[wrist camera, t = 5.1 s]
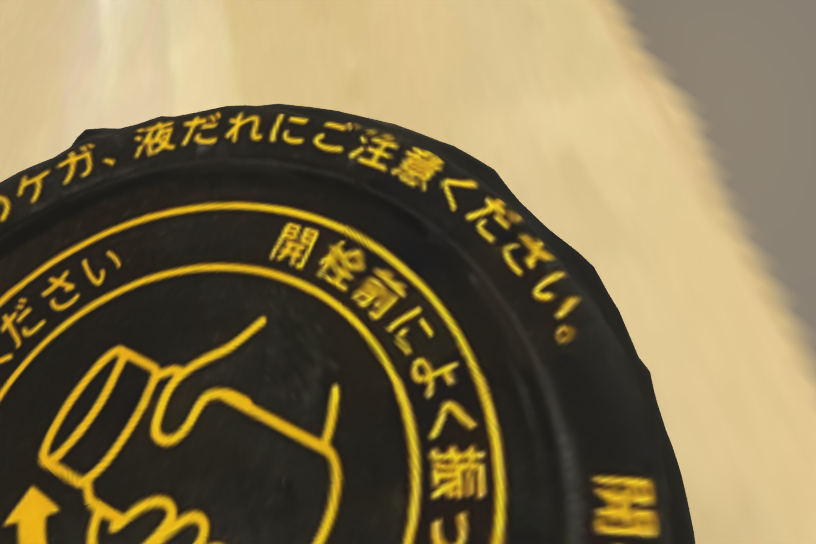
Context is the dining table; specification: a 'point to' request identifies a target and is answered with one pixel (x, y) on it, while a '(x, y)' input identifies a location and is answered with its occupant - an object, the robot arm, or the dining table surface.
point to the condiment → (310, 348)
